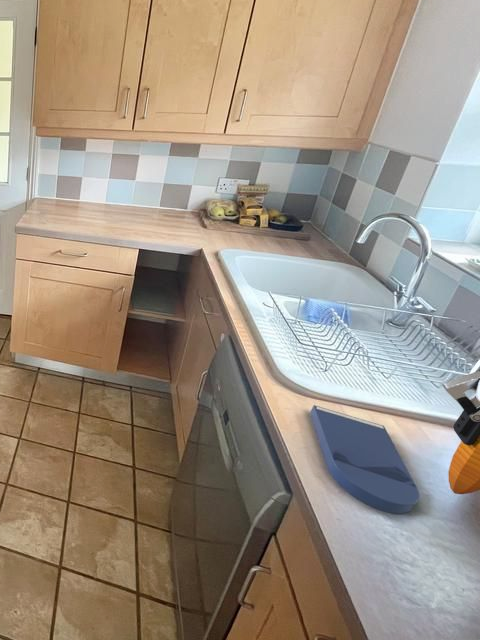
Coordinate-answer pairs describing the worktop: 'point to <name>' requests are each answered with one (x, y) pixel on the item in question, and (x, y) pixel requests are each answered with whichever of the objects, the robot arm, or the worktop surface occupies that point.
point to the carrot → (465, 469)
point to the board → (364, 461)
